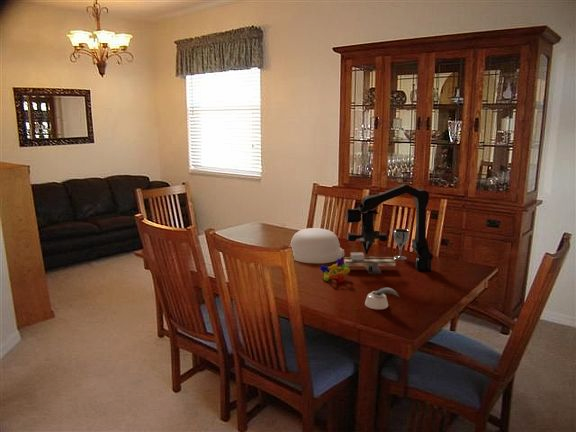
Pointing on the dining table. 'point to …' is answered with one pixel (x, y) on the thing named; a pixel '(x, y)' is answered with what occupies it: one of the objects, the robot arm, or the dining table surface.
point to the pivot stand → (373, 268)
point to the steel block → (357, 256)
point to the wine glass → (400, 241)
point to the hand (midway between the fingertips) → (366, 254)
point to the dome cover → (316, 246)
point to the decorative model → (335, 271)
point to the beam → (370, 261)
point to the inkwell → (379, 298)
